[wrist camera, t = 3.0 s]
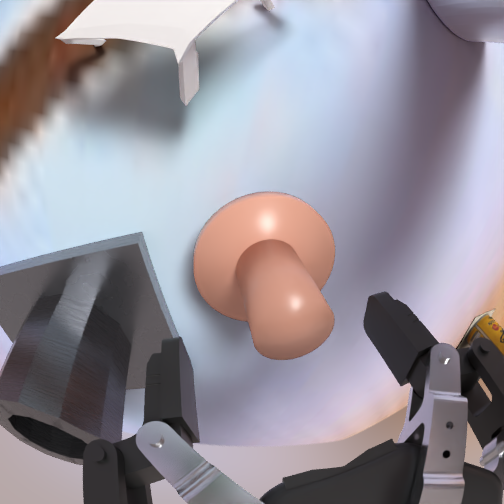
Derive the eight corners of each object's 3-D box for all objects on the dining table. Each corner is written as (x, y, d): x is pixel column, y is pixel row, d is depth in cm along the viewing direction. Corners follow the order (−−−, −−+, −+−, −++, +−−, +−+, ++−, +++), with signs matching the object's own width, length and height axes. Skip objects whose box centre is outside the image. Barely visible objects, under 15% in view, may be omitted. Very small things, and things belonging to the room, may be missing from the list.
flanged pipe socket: (142, 231, 17) (102, 370, 8) (193, 369, 24) (203, 476, 15) (-17, 271, 15) (-76, 360, 6) (55, 379, 22) (36, 463, 13)
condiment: (495, 307, 33) (535, 352, 23) (473, 343, 37) (507, 387, 27) (474, 316, 32) (519, 368, 21) (451, 354, 36) (487, 404, 26)
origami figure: (145, 137, 14) (123, 151, 10) (72, 39, 10) (32, 23, 6) (321, 35, 13) (363, 17, 8) (247, -59, 8) (265, -99, 4)
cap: (311, 171, 17) (393, 229, 10) (312, 276, 21) (364, 362, 14) (181, 191, 16) (171, 272, 9) (206, 297, 20) (217, 399, 13)
